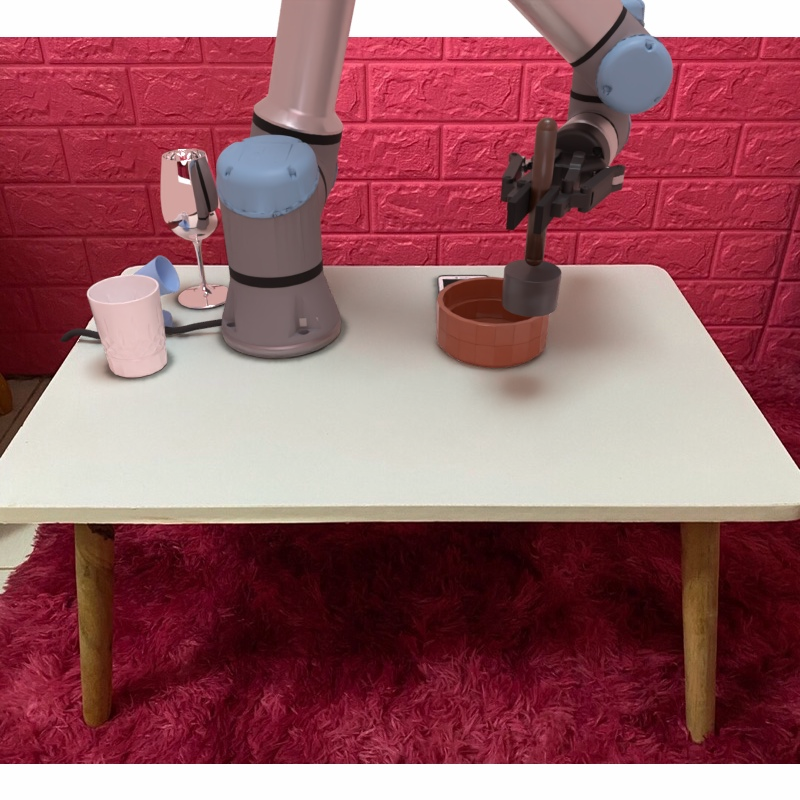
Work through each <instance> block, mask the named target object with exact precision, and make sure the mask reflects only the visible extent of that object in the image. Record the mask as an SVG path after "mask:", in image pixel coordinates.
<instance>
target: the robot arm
mask: <svg viewBox="0 0 800 800" xmlns="http://www.w3.org/2000/svg"><path fill="white" fill-rule="evenodd" d="M507 1H508V2H509V3H510V4H511V5H512V6H513V7H514V8H515V9H516V11H518V12H519V13H520V14H521V16H522V17H523V18H524V19H526V21H528V23H529V24H530V25H531V26H532V27H533V28H534V29H535V30H536V31H537V32H538V33H539V34H540V35H541V36H542V37H543V38H544V39H545V40H546V41H547V42H548V43H549V45H550V46H551V47H553V49H554V50H556V52H557V53H558V54H559V56H561V57H562V58H563V59H564V60H565V61H566V62H567V63H568V64H569V65H570V66H571V68H572V69H573V70H572V77H571V88H570V91H569V92H570V93H569V100H568V101H569V102H568V111H567V119H566V122H565V123H564V124H563V125H561V126H560V127H558V130H557V139H556V148H555V158H554V167H553V176H552V186H551V189H550V190H549V191H548V192H547V193H546V194H545V195H544V197H543V198H542V199H541V200H540V201H539V203H538V204H537V205H536V210H535V220H534V230H533V233H534V234H542V232H543V231H544V230H545V228H546V227H547V228H548V226H549V225H550V223H551V222H552V221H553V219H554V218H557V219H561V218H563V217H565V215H566V214H567V213H570V212H571V210H572V209H576V211H577V212H578V213H582V214H586V213H589V212H591V211H592V210H593V209H594V208H595V207H596V206H598V205H599V204H600V203H601V202H603V200H605V199H606V198H607V197H609V196H610V195H611V194H613V193H617V192H619V191H622V190H623V186H624V185H623V184H624V180H625V172H626V166H625V165H623V164H615V165H614V164H613V165H612V163H613V161H614V160H615V158H616V157H617V156H618V155H619V154H620V153H621V152H622V150H623V149H624V148H625V145H626V144H627V143H628V141H629V137H630V135H631V134H630V133H631V128H632V119H631V115H638V114H642V113H645V112H647V111H649V110H650V109H652V108H654V107H655V106H656V105H657V104H659V103H661V101H662V99H663V98H664V97H665V96H666V94H667V93H668V90H669V89H670V86H671V84H672V81H673V77H674V66H673V60H672V57H671V54H670V53H669V50H668V49H667V48H666V47H665V45H664V43H662V42H661V40H659V38H658V37H656V36H653V35H651V34H650V32H649V31H648V30H647V28H645V25H646V24H645V12H646V11H645V10H646V3H645V2H644V1H643V0H507ZM355 6H356V0H281V2H280V9H279V16H278V22H277V30H276V35H275V36H276V37H275V44H274V49H273V50H274V51H273V56H272V57H273V58H272V66H271V71H270V78H269V79H270V80H269V85H268V92H267V95H266V96H265V97H263V98H262V99H261V100H259V101H258V102H257V103H255V104H254V106H253V112H252V119H251V127H250V134H249V137H246V138H243V139H242V141H235V142H233V143H231V144H229V146H227V147H225V148H224V149H223V150H222V151H221V152H220V154H219V156H218V158H217V160H216V164H215V165H216V166H215V167H216V168H215V171H216V172H215V173H216V177H215V180H216V186H217V193H218V196H219V200H220V208H221V215H222V219H221V222H222V227H223V228H222V229H223V236H224V243H225V244H224V245H225V251H226V259H227V267H228V273H229V282H228V286H227V288H228V291H227V296H226V301H225V303H224V305H223V311H222V316H221V318H218V319H212V320H206V321H199V322H193V323H190V324H185V325H180V326H174V327H167V326H165V333H166V334H165V335H181V334H186V333H191V332H194V331H195V332H196V331H200V330H205V329H212V328H217V327H221V330H222V331H221V332H222V337H223V340H224V342H225V343H226V345H228V346H229V347H230V348H232V349H233V350H235V351H237V352H239V353H241V354H244V355H246V356H247V355H248V356H253V357H257V358H258V357H259V358H264V359H265V358H266V359H267V358H268V359H280V358H282V359H283V358H293V357H297V356H303V355H306V354H310V353H313V352H316V351H318V350H320V349H322V348H325V347H326V346H328V345H329V344H331V343H333V341H334V340H335V339H337V337H338V336H339V334H340V332H341V329H342V326H341V325H342V324H341V323H342V321H341V313H340V309H339V306H338V304H337V301H336V298H335V297H334V295H333V292H332V289H331V287H330V285H329V282H328V280H327V277H326V275H325V271H324V261H323V259H324V258H323V257H324V256H323V241H322V221H321V220H322V214H323V211H324V208H325V206H326V204H327V201H328V199H329V196H330V194H331V192H332V190H333V188H334V186H335V183H336V181H337V177H338V173H339V172H338V171H339V165H338V162H339V159H338V156H339V153H340V147H341V141H342V136H343V131H344V124H343V122H342V121H341V119H340V117H339V115H338V114H337V112H336V105H337V100H338V94H339V90H340V85H341V80H342V79H341V78H342V75H343V74H342V73H343V69H344V63H345V59H346V52H347V48H348V42H349V37H350V32H351V28H352V27H351V26H352V21H353V17H354V11H355ZM533 159H534V154H532V156H531V158H530V159H529V158H528V159H527V157H526V156H525V155H521V154H520V153H518V152H515V151H513V152H509V153H508V162H507V166H506V169H505V170H504V172H503V174H502V176H501V187H500V201H501V202H503V203H506V225H505V230H507V231H515V229H516V228H518V226H519V225H520V224H521V222H523V220H524V219H525V218H526V217H527V216H528V213H529V202H530V191H531V180H532V169H533ZM525 173H526V174H525ZM78 336H79V337H80V336H81V337H86V338H90V339H94V340H100V341H101V339H100V336H99V334H98V331H97V330H93V329H92V330H91V329H89V328H88V329H87V328H74V329H70V330H69V331H67V332H65V333H64V334H63V335H62V336H61V338H60V340H59V342H61V343H66V342H69V341H70V340H72V339H73V338H75V337H78Z"/></svg>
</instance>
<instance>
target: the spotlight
mask: <svg viewBox="0 0 800 800" xmlns="http://www.w3.org/2000/svg"><path fill="white" fill-rule="evenodd" d="M132 275H143V276H148V277H151V278H153V279H155V280H156V281H157V282H158V284H159V290H160V297H162V296H166V295H171V294H175V293H178V292H179V291H180V288H181V282H180V277H179V274H178V271H177V270H176V267H175V266H174V265H173V263H172V262H171V261H170V260H169V259H168V258H167V257H166V256H163V255H157V256H155V257H154V258H153V259H152V260H151V261H149V262H148V263H146V264H145V265H143V266H142V267H141V268H139V269H138V270H137V271H136V272H134V273H133V274H132ZM162 312H163V319H164V327H165V326H167V327H175V326H174V321H173V316H172V312H170V311H168V310H165V309H162ZM165 335H167V334H166V333H165Z"/></svg>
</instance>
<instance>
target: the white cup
mask: <svg viewBox="0 0 800 800" xmlns="http://www.w3.org/2000/svg"><path fill="white" fill-rule="evenodd" d="M86 296H87V300H88V303H89V307H90V310H91V314H92V317H93V320H94V324H95V327H96V332H98V334H99V336H100V339H101V340H100V343H101V346H102V348H103V351H104V352H105V356H106V359H107V363H108V367H109V369H110V370H111V372H112V373H113V374H114V375H116V376H118V377H119V376H120V377H123V378H141V377H147V376H150V375H153V374H155V373H156V372H157V373H158V372H159V371H160V370H162V369H163V368H164V367H165V366H166V365H167V364H168V351H167V345H166V341H167V337H166V334H165V327H164V319H163V312H162V310H163V306H162V299H161V296H160V290H159V284H158V282H157V281H156V280H155V279H153V278H151V277H148V276H143V275H133V274H122V275H116V276H112V277H108V278H105V279H102V280H100V281H97V282H96V283H94V284H92V285H91V286H90V287H89V288H88V290H87V291H86Z"/></svg>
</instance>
